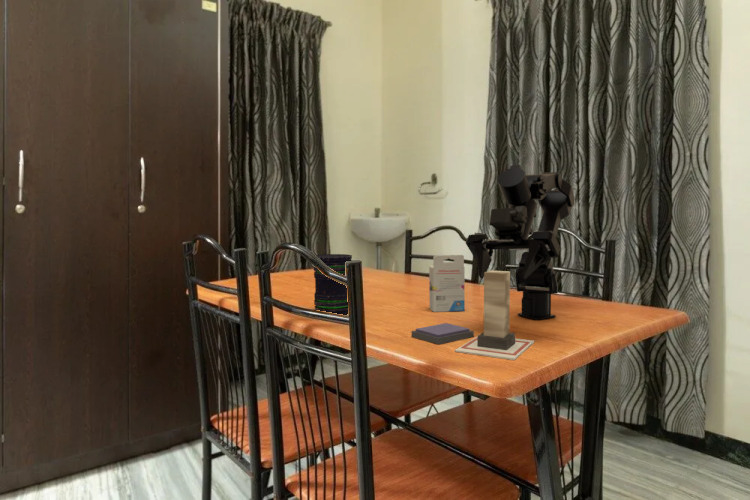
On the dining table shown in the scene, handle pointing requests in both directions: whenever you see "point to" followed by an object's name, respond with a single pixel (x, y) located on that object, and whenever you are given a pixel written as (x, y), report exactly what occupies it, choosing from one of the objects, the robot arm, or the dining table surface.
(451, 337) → the ink pad
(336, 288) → the storage jar
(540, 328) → the dining table surface
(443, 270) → the ink box
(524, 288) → the robot arm
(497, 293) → the stamp
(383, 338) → the dining table surface
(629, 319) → the dining table surface
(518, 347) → the paper
